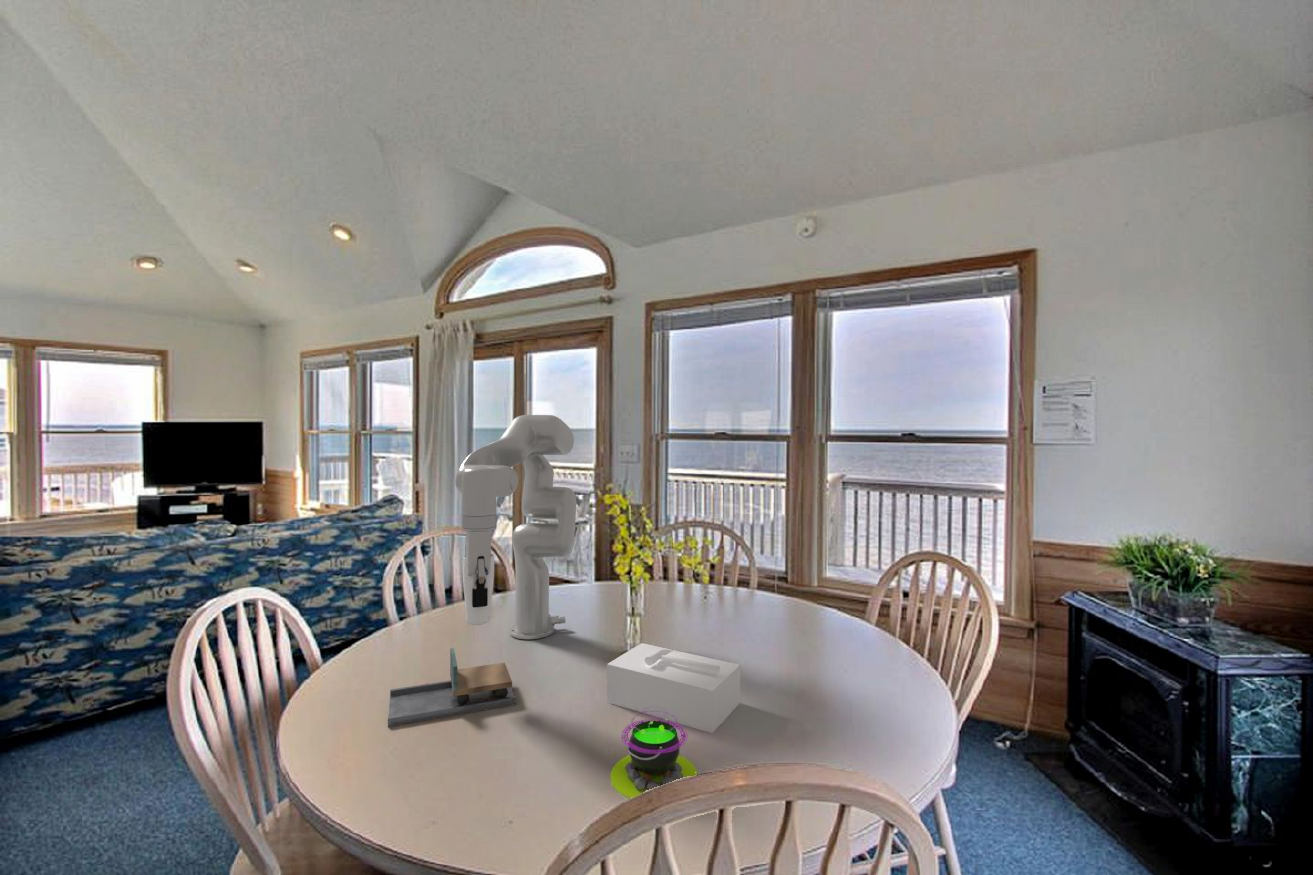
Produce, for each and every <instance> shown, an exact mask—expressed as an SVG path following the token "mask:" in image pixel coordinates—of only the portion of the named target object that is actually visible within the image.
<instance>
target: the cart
mask: <svg viewBox="0 0 1313 875" xmlns="http://www.w3.org/2000/svg"><path fill="white" fill-rule="evenodd" d="M449 651H450V652H449V655H450V658H449V660H450V662H449V664H450V668H449V669H450V674H449V675H450V680H451V684H452V690H453V696H457V702H458V704H460V705H463V704H467V703H468V701H469V694H472V693H478V692H484V691H490V690H496V695H497V697H498V698H505V697H506V696H507V694H508V690H507V688H509V687H511V688H512V687H513V680H512V677H511V675H510V672H509V670H508V668H507V665H506V662H499V663H492V664H483V665H477V666H471V667H464V668H458V662H457V657H456V656H457V655H456V651H455V647H452V648H451V647H450V649H449Z"/></svg>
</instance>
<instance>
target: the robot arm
mask: <svg viewBox="0 0 1313 875" xmlns="http://www.w3.org/2000/svg"><path fill="white" fill-rule="evenodd" d="M574 438H575V437H574V434H573V431H572V429H571V428H570V427H569V425H568V424H566V422H564V420H562V419H561V418H559V417H558V416H557V415H552V414H523V415H518V416H516V417H515V418H514V419H512V421H511V423H509V425H508V426H507V428H506V429H505V431H504V432H503V434H502V435H501V437H500V438H499V439H497V440H494V441H493V442H490V443H487V444H486V445H484V446H482V447H480V448H477V449H475V450H474V451H472V452H471V453H469V454H468V455H467V457H466V458H465V459H464V460H463V462H462V463H461V465H460V466H459V468H458V470H457V472H456V474H455V487H456V490H457V491H458V493H460V495H461V521H460V522H461V524H460V525H461V526H460V528H461V531H463V532H465V543H464V544H465V545H464V549H465V550H464V556H466V574H467V576H469V577H470V575H473V574H474V575H473V582H474V589H472V607H485V606H487V605H488V588H487V575H488V574H489V573H490V564H491V554H492V531H494V530H496V529H497V498H505V497H509V496H511V495H513V494H514V493H515V491H516V489H517V488H518V487H519V486H518V485H519V476H518V475H519V474H518V472H517V471H516V470H515V469H514V467H516V466H519V465H521V464H523V466H524V467H523V468H524V469H523V470H524V477H523V478H524V479H523V489H522V496H521V497H522V498H521V513H522V514H523V516H524V517H526V518H528V519H533V520H557V522H558V523H544V522H541V523H540V522H526V523H522V524H519V525H517V526H516V527H515V528H514V530H513V532H512V535H511V542H512V549H513V550H512V551H513V554H514V556H513V557H514V563H515V565H514V566H515V569H514V570H515V606H514V607H515V609H514V610H515V621H514V624H515V625H512V626H511V627H510V628H509V635H510V636H511V637H513V638H516V639H520V640H538V639H542V638H545V637H549V636H551V635H552V634H553V633H554V632H555V625H562V624H566V617H565V616H560V615H553V616H551V614H550V572H549V567H548V565H547V563H546V561H545V560H544V559H543V558H566V557H569V556H570V554H571V553H572V552H573V548H574V541H575V530H576V519H577V518H576V517H577V497H576V494H575V492H574V490H573V489H572V488H570V487H566V486H554V477H555V472H554V469H553V466H552V465H551V463H550V462H549V461H548V459H547V458H546V457H545V456H544V455H547V456H548V455H549V456H566V455H568V454H569V453H571V451H572V450H573V449H574V446H575V445H574V444H575V440H574ZM477 561H478V564H477ZM475 569H476V571H477V569H478V574H475ZM486 569H488V571H486ZM477 577H478V579H477V580H476V578H477Z"/></svg>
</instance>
